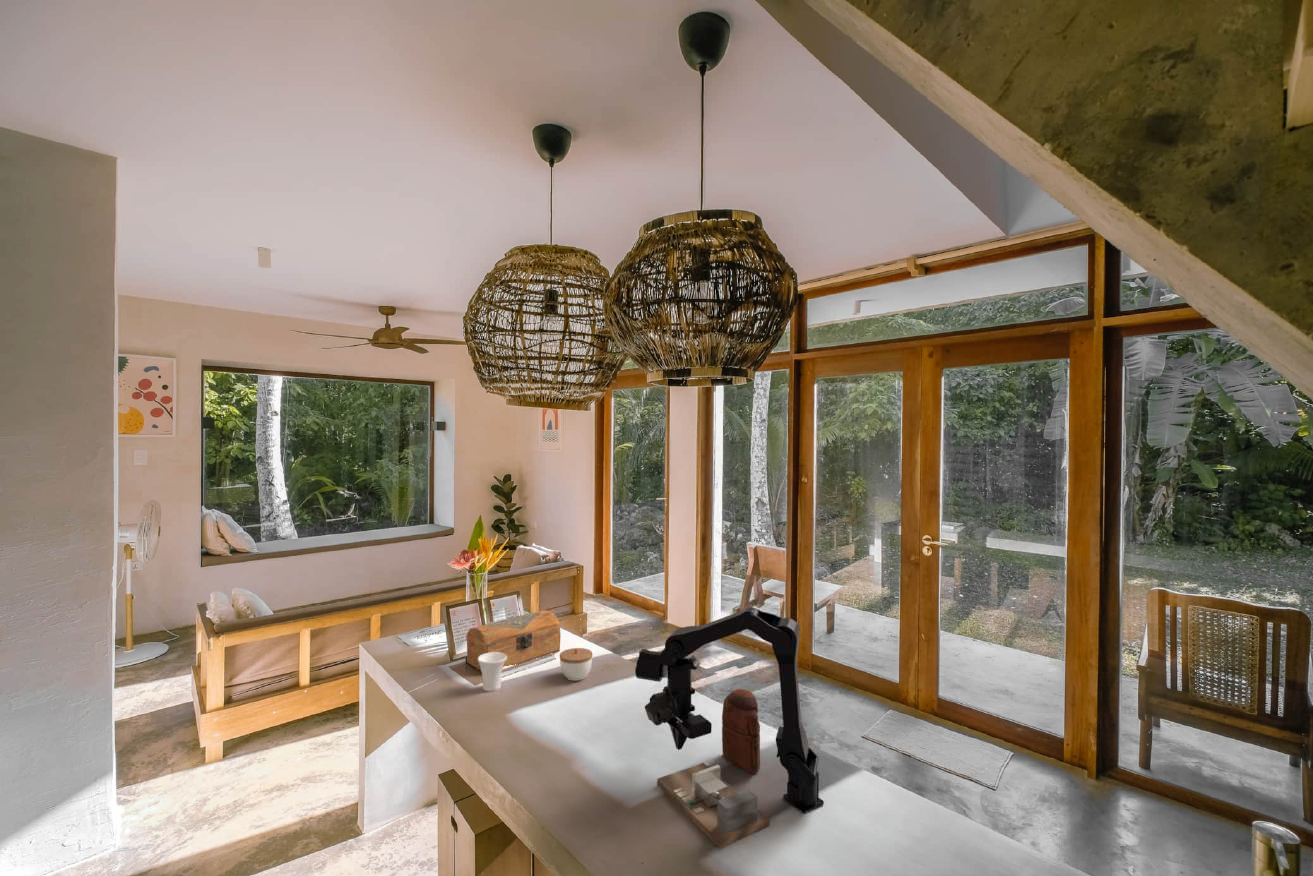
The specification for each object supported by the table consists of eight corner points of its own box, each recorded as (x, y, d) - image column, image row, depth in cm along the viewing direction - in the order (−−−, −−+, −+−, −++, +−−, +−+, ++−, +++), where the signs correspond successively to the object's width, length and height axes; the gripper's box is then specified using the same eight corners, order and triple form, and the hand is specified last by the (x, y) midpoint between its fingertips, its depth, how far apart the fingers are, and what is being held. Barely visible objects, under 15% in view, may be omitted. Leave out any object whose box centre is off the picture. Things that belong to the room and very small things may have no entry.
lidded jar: (553, 676, 197) (553, 648, 197) (580, 667, 204) (580, 640, 204) (571, 687, 189) (571, 657, 189) (598, 677, 197) (598, 649, 196)
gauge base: (703, 768, 144) (703, 742, 144) (769, 826, 124) (769, 795, 124) (657, 785, 138) (657, 757, 138) (719, 848, 117) (719, 816, 117)
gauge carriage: (717, 786, 134) (717, 764, 134) (743, 809, 126) (743, 786, 126) (682, 799, 130) (682, 777, 129) (707, 824, 122) (707, 800, 122)
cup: (500, 694, 184) (500, 662, 183) (472, 692, 185) (472, 660, 185) (512, 682, 192) (512, 652, 192) (485, 680, 194) (485, 650, 194)
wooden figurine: (769, 767, 145) (769, 694, 145) (753, 777, 141) (753, 702, 140) (732, 748, 154) (732, 679, 153) (715, 757, 150) (716, 686, 149)
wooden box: (488, 676, 197) (488, 635, 197) (465, 662, 209) (465, 623, 209) (563, 653, 218) (563, 615, 218) (538, 641, 230) (538, 605, 230)
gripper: (630, 676, 145) (630, 739, 145) (671, 708, 129) (671, 779, 129) (669, 667, 151) (669, 728, 151) (713, 696, 135) (712, 764, 135)
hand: (679, 748), depth 141 cm, fingers closed
